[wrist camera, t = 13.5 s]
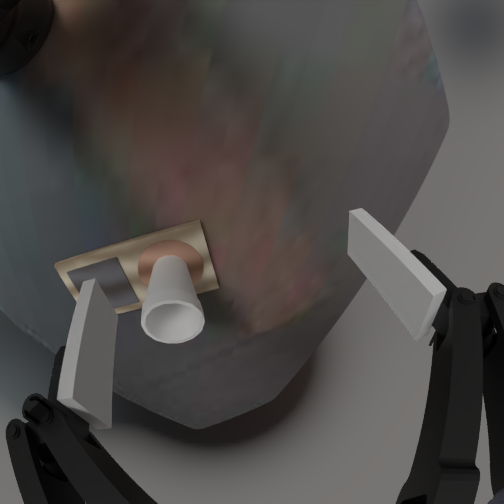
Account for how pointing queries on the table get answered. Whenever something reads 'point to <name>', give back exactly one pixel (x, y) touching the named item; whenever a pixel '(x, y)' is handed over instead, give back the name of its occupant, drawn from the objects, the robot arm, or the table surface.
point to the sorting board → (140, 265)
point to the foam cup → (171, 303)
